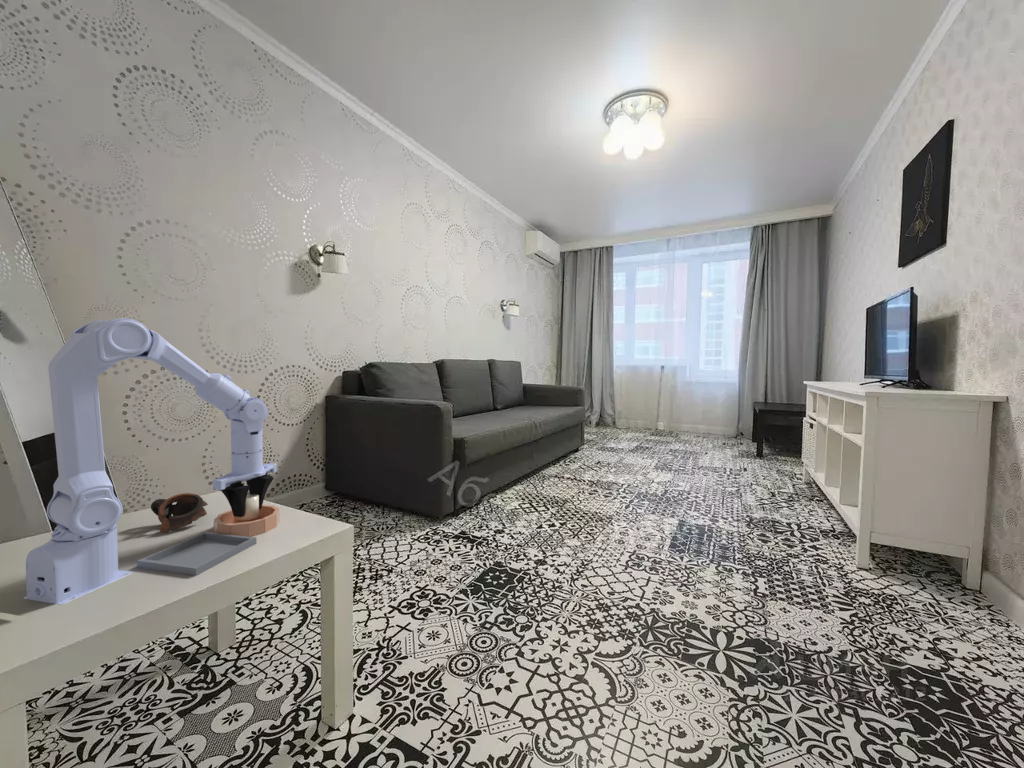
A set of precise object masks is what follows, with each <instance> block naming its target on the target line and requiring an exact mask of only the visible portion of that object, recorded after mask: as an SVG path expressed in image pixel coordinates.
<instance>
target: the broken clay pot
mask: <svg viewBox="0 0 1024 768" xmlns="http://www.w3.org/2000/svg"><path fill="white" fill-rule="evenodd" d="M206 506H208V503H207V501H205V500H204V499H203V498H202V497H201V496H200V495H198V494H196V493H190V492H185V493H179V494H178V493H177V494H175V495H172V496H171V497H168V498H167V499H165V498H157V499H155V500H154V501H153V502H152V503H151V504H150V509H151V511H152V512H153V514H155V516H157V517H158V520H159V523H161V524H160V527H159V532H160V533H170V531H173V530H177V529H180V528H184V527H186V526H189V525H191V524H192V523H193V522H196V521H197V520H199V519H200V518H201V517H204V516H205V515H206V516H207V515H208V513H207V510H206V509H205V507H206Z"/></svg>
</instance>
